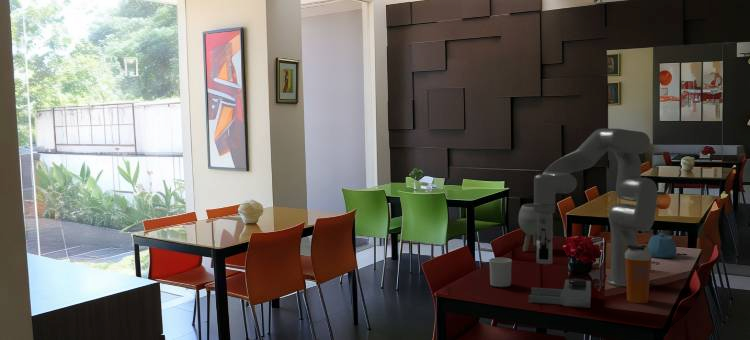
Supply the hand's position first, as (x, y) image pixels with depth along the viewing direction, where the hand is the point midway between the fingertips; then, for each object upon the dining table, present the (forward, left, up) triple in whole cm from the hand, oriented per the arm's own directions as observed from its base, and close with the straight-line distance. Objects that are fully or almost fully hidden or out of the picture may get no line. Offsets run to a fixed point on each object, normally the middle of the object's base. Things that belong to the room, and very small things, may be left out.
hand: (544, 256), depth 239 cm
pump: (0, 0, -2) cm, 2 cm away
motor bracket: (-5, -2, -16) cm, 17 cm away
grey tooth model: (+11, -83, -16) cm, 85 cm away
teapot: (-46, -82, -16) cm, 95 cm away
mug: (+18, -16, -16) cm, 29 cm away
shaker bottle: (-32, -6, -16) cm, 36 cm away
